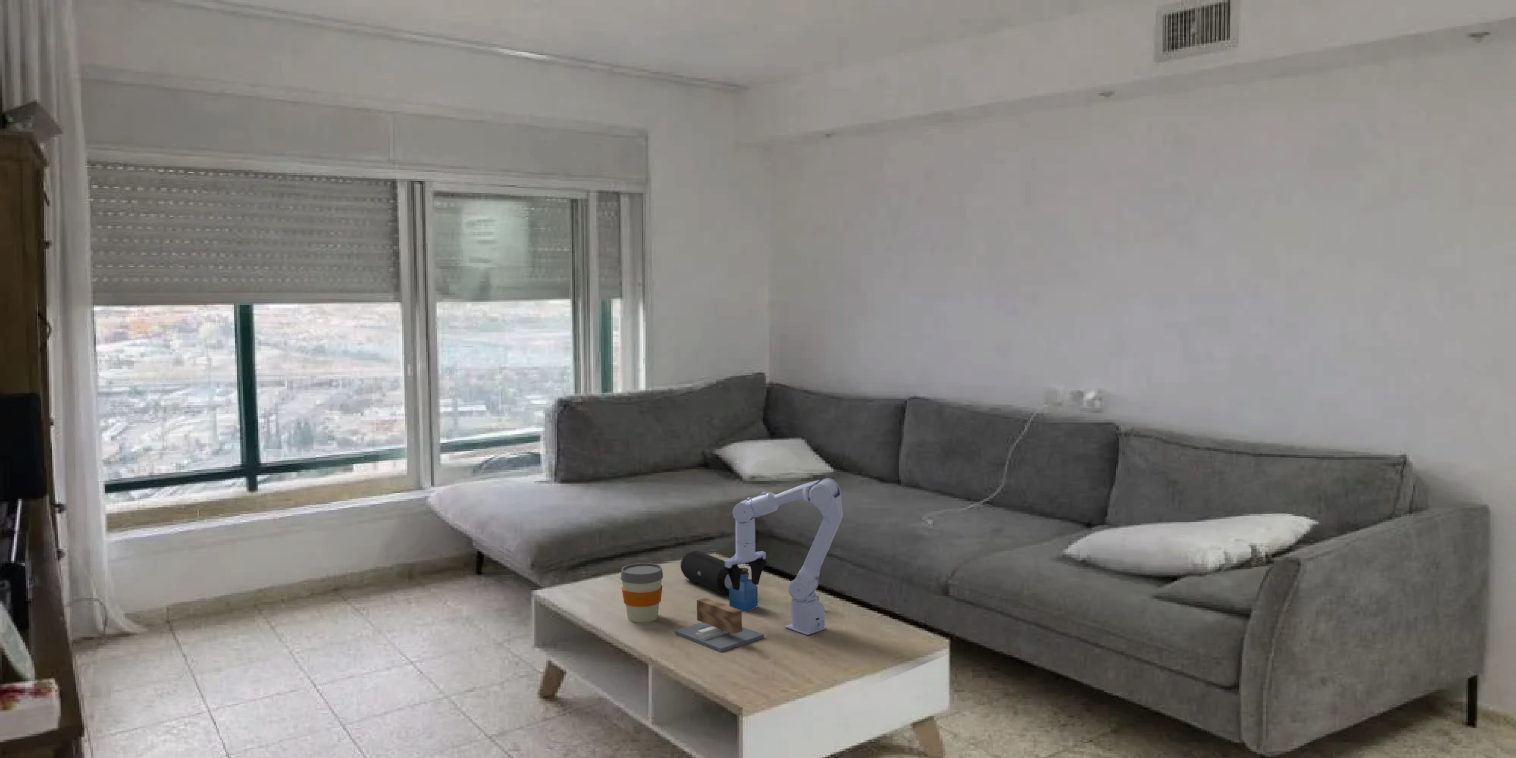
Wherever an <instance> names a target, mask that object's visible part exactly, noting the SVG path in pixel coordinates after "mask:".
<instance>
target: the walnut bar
mask: <svg viewBox="0 0 1516 758" xmlns="http://www.w3.org/2000/svg"><path fill="white" fill-rule="evenodd" d="M696 621H699V622H700V623H702V622H703V623H706V624H709V625H711V626H714V627H717V628H719V629H722V630H725V631H727V632H730V633H733V634H735V633H739V632H742V627H743V611H742V610H739V609H736V608H733V607H730V606H729V605H727V604H724V603H723V602H722V603H721V602H718V601H715V600H712V599H711V598H708V597H702V598H698V599H697V600H696Z"/></svg>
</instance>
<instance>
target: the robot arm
mask: <svg viewBox="0 0 1516 758" xmlns="http://www.w3.org/2000/svg"><path fill="white" fill-rule="evenodd" d="M801 499H802V500H804V501H806V502H808V503H809V502H811V503H812V504H813V505H814V507H816V509H818V511H819V512H820V514H821V515H822V518H823V519H822V520H821V524H820V525H819V527H818V530H817V533H816V534H815V537H814V539H813V542H812V544H811V546H810V549H809V550H808V553H807V555H806V557H805V560H804V562H803V564H802V566H801V568H800V569H799V571H798V573H797V574H796V576H795V578H794V579H793V580H791V581H790V583H789V585H788V593H789V595H790V597H791V601H790V602H791V603H790V604H791V605H790V606H791V608H790V613H791V617H790V618H791V623H789V624H786V625H784V628H787V629H789V630H792V631H794V632H798V633H800V634H804V635H807V636H808V635H809V636H810V635H813V634H815V633H818V632H821V631H824V630H826V629H827V626H825V625H826V624H825V618H826V617H825V605H824V604H823V603H822V602H820V600H819V601H818V600H817V598H816V594H817V593H816V592H815V591H816V590H817V588H818V587H819V576H820V574H821V568H822V565H823V563H824V561H825V558H826V557H827V554H828V552H829V549H830V547H831V545H832V543H833V540H834V538H835V536H836V533H837V532H838V529H839V526H840V525H841V523H842V520H843V519H844V518H843V517H844V512H843V511H844V510H843V502H842V489H841V488H840V486H839V484H838V483H837V481H836V480H834V479H832V478H831V477H827V478H823V479H822V480H819V479H817V480H814V481H813V480H812V481H809V482H807V483H803V484H801V485H798V486H795V487H792V488H790V489H787V490H784V491H782V492H780V493H777V494H776V493H773V492H771V491H768V492H767V490H765V491H762V492H761V493H760V495H757V496H754V497H752V496H750V497H749V496H748V497H747V498H746V499H743V500H742V501H740V502H739V503H737V504H735V505H734V507H733V509H732V513H731V514H732V517H733V519H734V520H735V554H734V555H733V556H732V557H730V558H727V559H724V561H725V569H726V571H727V573H728V574H729V577H730V579H731V583H732V586H733V589H735V590H739V589H740V576H741V572H742V568H743V567H739V565H742V564H746V563H749V567H750V573H751V574H750V575H751V579H752V584H756V586H757V585H758V586H759V584H760V578H761V575H762V574H763V570H764V568H765V566H766V565H767V560H765V559H767V557H766V556H767V552H766V551H763V550H761V551H756V521H755V520H756V519H755V518H759V517H761V516H764V515H765V516H766V515H768V514H771V513H774V512H776V511H778V508H779V506H780V505H783V504H788V503H791V502H793V501H796V500H797V501H798V500H801Z"/></svg>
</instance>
